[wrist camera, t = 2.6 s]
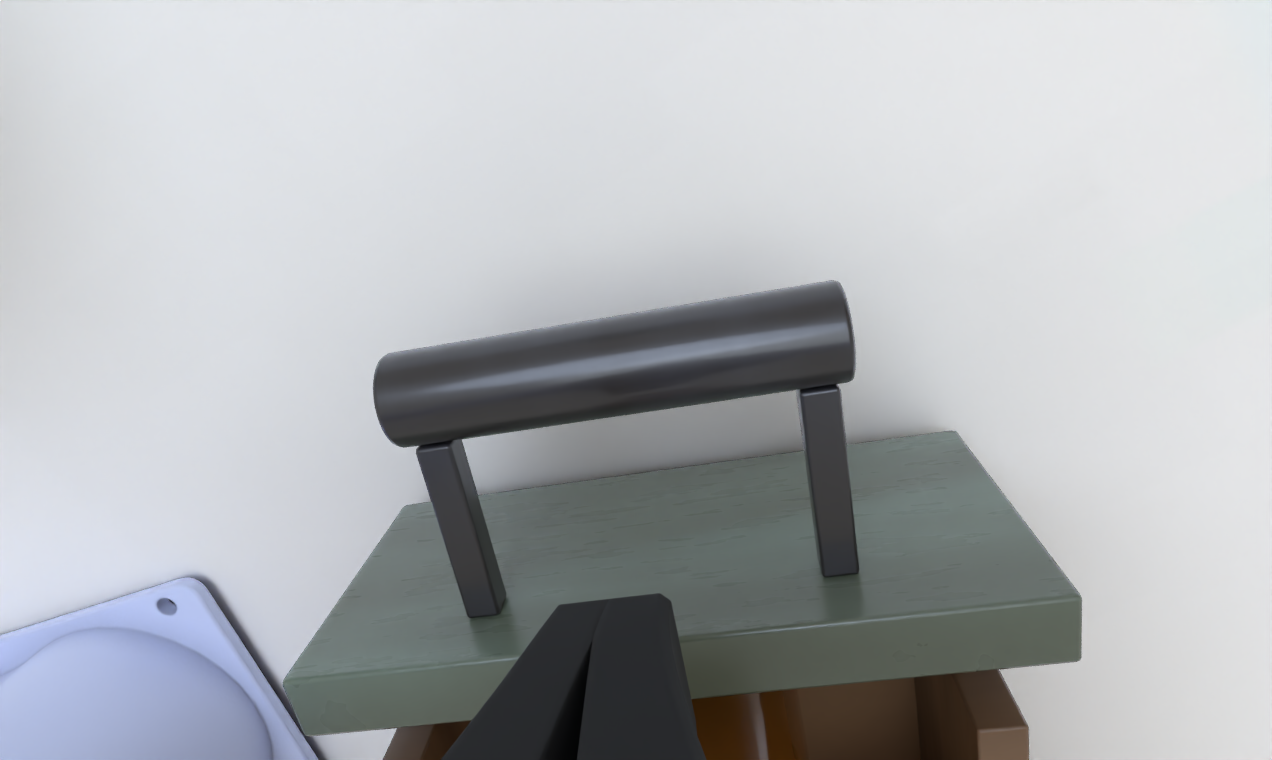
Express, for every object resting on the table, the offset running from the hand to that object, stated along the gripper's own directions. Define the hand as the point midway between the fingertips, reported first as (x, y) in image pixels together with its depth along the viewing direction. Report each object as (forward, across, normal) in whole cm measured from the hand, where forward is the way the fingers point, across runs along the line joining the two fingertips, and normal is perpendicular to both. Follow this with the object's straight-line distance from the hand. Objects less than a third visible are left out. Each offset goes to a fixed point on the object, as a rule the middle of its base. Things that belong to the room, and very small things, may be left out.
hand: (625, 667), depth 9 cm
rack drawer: (+8, 0, +5) cm, 10 cm away
